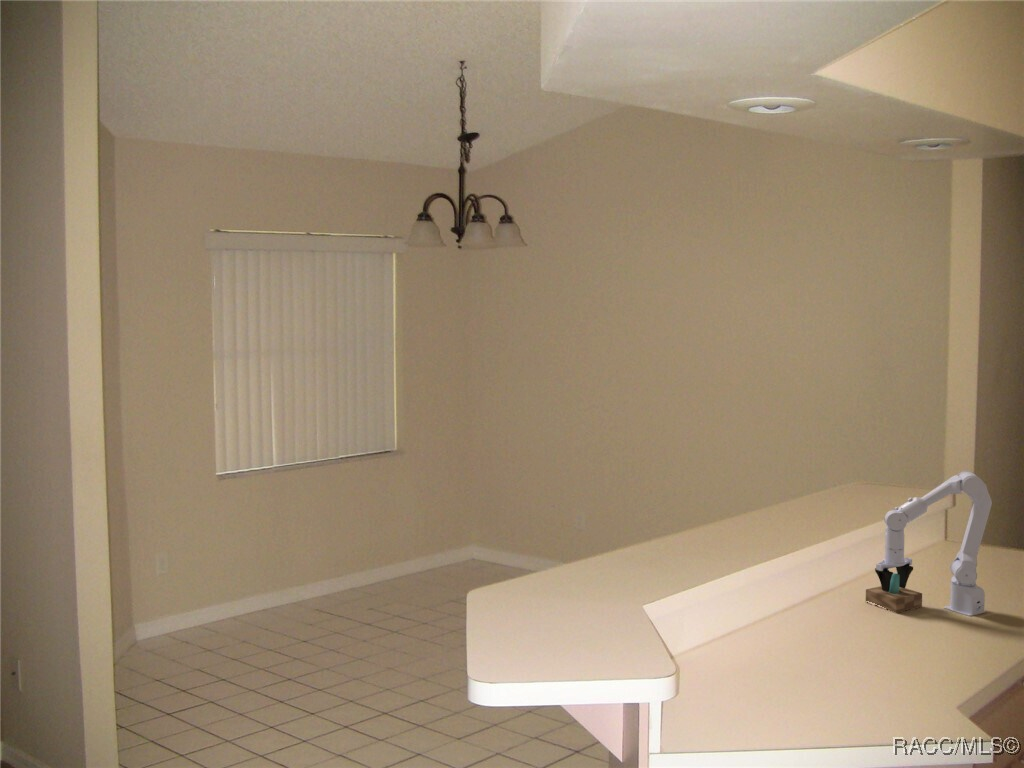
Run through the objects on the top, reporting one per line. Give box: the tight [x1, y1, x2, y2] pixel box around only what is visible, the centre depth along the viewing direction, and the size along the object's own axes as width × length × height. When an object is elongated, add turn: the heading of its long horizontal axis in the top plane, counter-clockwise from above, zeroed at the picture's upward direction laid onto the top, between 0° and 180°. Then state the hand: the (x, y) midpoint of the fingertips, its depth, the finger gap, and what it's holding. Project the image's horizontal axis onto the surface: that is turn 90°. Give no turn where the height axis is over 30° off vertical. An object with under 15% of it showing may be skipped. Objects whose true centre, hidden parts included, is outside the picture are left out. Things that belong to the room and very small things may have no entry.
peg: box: [889, 572, 900, 594], centre depth 304 cm, size 3×3×9 cm
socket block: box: [865, 585, 923, 614], centre depth 304 cm, size 12×12×4 cm
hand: (893, 589), depth 304 cm, fingers open, 7 cm apart
